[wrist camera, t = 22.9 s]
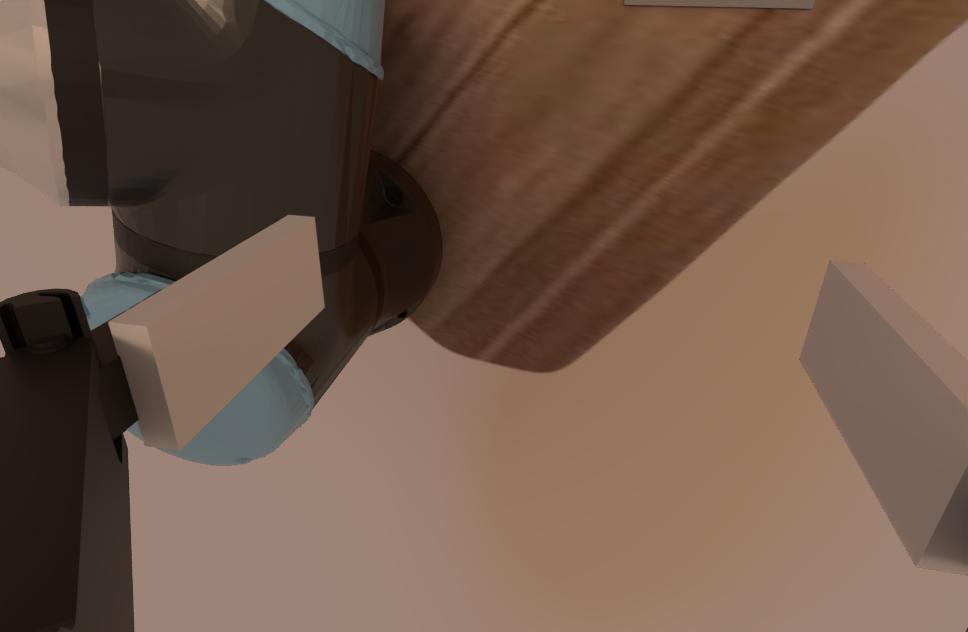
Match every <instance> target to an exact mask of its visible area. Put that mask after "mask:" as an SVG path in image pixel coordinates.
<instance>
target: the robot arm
mask: <svg viewBox="0 0 968 632" xmlns="http://www.w3.org/2000/svg"><path fill="white" fill-rule="evenodd" d="M384 12H385V0H0V166H1V167H3V168H5V169H7V170H9V171H12V172H14V173H17V174H18V175H19V176H20V177H22V178H23V179H24V180H26V181H27V182H29V183H30V184H32V185H33V186H34V187H36V188H37V189H38V190H40V191H41V192H42V193H44V194H45V195H47V196H48V197H49V198H51V199H52V200H53V201H55V202H56V203H58V204H59V205H60V206H109V207H110V206H111V208H112V216H113V227H114V242H115V252H116V270H115V273H112V274H108V275H106V276H104V277H101V278H99V279H96V280H94V281H93V282H92V283H90V284H89V285H88V287H87V289H86V291H85V292H84V294H83V295H82V296H81V297H80V296H79V294H78V292H75V291H72V290H69V289H46V290H38V291H33V292H28V293H23V294H20V295H17V296H14V297H11V298H8V299H6V300H4V301H2V302H0V340H1V342H2V345H3V348H4V350H5V353H6V354H5V357H2V358H0V632H134V611H133V609H134V608H133V580H132V553H131V528H130V527H131V525H130V497H129V469H128V448H127V445H126V441H125V438H124V435H123V432H125V431H126V430H128V431H129V432H131V433H132V434H133V435H135V436H136V437H138V438H139V439H141V440H143V441H144V444H145V446H150V447H155V448H157V449H159V450H161V451H164V452H166V453H169V454H171V455H174V456H176V457H179V458H182V459H185V460H188V461H192V462H197V463H201V464H207V465H218V466H222V465H223V466H231V465H239V464H245V463H248V462H251V461H252V460H254V459H258V458H261V457H265V456H267V455H268V454H270V453H272V452H273V451H274V450H276V449H277V448H278V447H279V446H280V445H281V444H282V443H283V442H284V441H285V440H286V439H287V438H288V437H289V436H290V435H291V434H292V433H293V432H294V431H295V430H296V429H298V428H299V427H301V426H302V424H304V423H305V422H306V421H307V420H308V418H309V417H310V415H311V411H312V409H313V408H314V407H315V405H316V404H317V403H318V401H319V400H320V399H321V397H322V396H323V395H324V393H325V392H326V391H327V389H328V388H329V387H330V385H331V384H332V383H333V381H334V380H335V379H336V377H337V376H338V375H339V374H340V372H341V371H342V369H343V368H344V367H345V365H346V364H347V363H348V362H349V360H350V359H351V358H352V356H353V355H354V354H355V352H356V351H357V350H358V348H359V347H360V346H361V344H362V343H363V341H364V340H365V339H366V338H367V337H368V336H370V335H373V334H375V333H378V332H381V331H383V330H385V329H388V328H390V327H392V326H394V325H397V324H398V323H400V322H402V321H403V320H405V319H406V318H407V317H408V316H410V315H411V314H412V313H413V312H414V311H415V310H416V309H417V308H418V307H419V306H420V304H421V303H422V302H423V300H424V299H425V297H426V296H427V294H428V293H429V291H430V290H431V288H432V286H433V285H434V283H435V280H436V278H437V275H438V272H439V269H440V264H441V257H442V240H441V233H440V228H439V224H438V220H437V217H436V215H435V212H434V210H433V208H432V205H431V204H430V202H429V200H428V198H427V196H426V195H425V193H424V192H423V190H422V189H421V188H420V186H419V185H418V184H417V183H416V181H415V180H414V179H413V178H412V177H411V176H410V175H409V174H408V173H407V172H406V171H405V170H403V169H402V168H401V167H400V166H398V165H397V164H396V163H394V162H393V161H391V160H390V159H388V158H386V157H384V156H382V155H380V154H378V153H376V152H374V151H371V150H370V149H371V141H372V134H373V127H374V119H375V112H376V104H377V97H378V90H379V82H380V80H383V77H384V71H383V68H382V66H381V50H382V37H383V25H384ZM799 360H800V362H801V363H802V365H803V367H804V369H805V370H806V372H807V374H808V376H809V378H810V379H811V381H812V383H813V385H814V386H815V388H816V390H817V392H818V393H819V395H820V397H821V399H822V400H823V402H824V404H825V406H826V408H827V410H828V411H829V413H830V415H831V417H832V419H833V420H834V422H835V424H836V426H837V427H838V429H839V431H840V433H841V434H842V436H843V438H844V440H845V442H846V443H847V445H848V447H849V449H850V451H851V452H852V454H853V456H854V458H855V460H856V461H857V463H858V465H859V467H860V468H861V470H862V472H863V474H864V476H865V477H866V479H867V481H868V482H869V484H870V486H871V488H872V490H873V492H874V493H875V495H876V497H877V499H878V500H879V502H880V504H881V506H882V508H883V509H884V511H885V513H886V515H887V516H888V518H889V520H890V522H891V524H892V525H893V527H894V529H895V531H896V533H897V534H898V536H899V538H900V540H901V541H902V543H903V545H904V547H905V548H906V550H907V552H908V554H909V556H910V557H911V559H912V561H913V563H914V565H915V566H916V567H917V568H923V569H929V570H936V571H942V572H949V573H955V574H961V575H968V360H967V359H966V358H965V357H964V356H963V355H962V354H961V353H960V352H959V351H958V350H957V349H955V348H954V347H953V346H952V345H951V344H950V343H949V342H948V341H947V340H946V339H945V338H944V337H943V336H942V335H941V334H939V333H938V332H937V331H936V330H935V329H934V328H933V327H932V326H931V325H930V324H929V323H928V322H927V321H926V320H925V319H924V318H923V317H921V316H920V315H919V314H918V313H917V312H916V311H915V310H914V309H913V308H912V307H911V306H910V305H909V304H908V303H907V302H906V301H904V300H903V299H902V298H901V297H900V296H899V295H898V294H897V293H896V292H895V291H894V290H893V289H891V287H890V286H889V285H887V284H886V283H885V282H884V281H883V280H882V279H881V278H880V277H879V276H878V275H877V274H876V273H875V272H874V271H873V270H872V269H871V268H869V267H868V266H867V265H866V264H865V263H859V262H847V261H836V260H830V261H829V264H828V267H827V271H826V274H825V277H824V281H823V284H822V287H821V290H820V294H819V297H818V300H817V304H816V307H815V310H814V313H813V316H812V320H811V323H810V326H809V330H808V333H807V336H806V339H805V343H804V346H803V349H802V352H801V356H800V359H799ZM966 632H968V628H967V630H966Z"/></svg>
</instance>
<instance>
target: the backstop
mask: <svg viewBox="0 0 968 632" xmlns="http://www.w3.org/2000/svg"><path fill="white" fill-rule="evenodd" d="M814 1H815V0H624V5H650V6H699V7H748V8H796V9H813V5H814Z"/></svg>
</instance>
